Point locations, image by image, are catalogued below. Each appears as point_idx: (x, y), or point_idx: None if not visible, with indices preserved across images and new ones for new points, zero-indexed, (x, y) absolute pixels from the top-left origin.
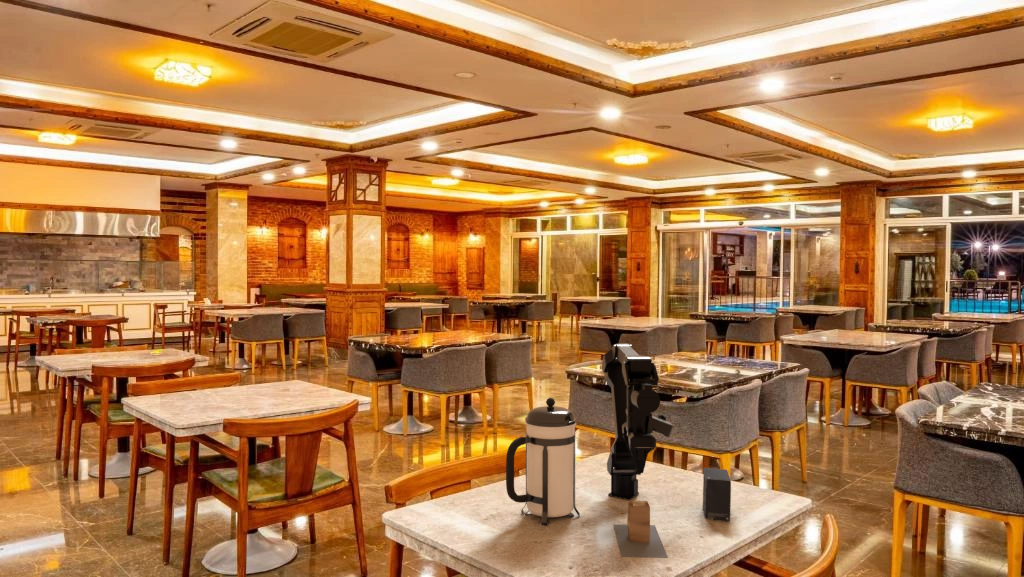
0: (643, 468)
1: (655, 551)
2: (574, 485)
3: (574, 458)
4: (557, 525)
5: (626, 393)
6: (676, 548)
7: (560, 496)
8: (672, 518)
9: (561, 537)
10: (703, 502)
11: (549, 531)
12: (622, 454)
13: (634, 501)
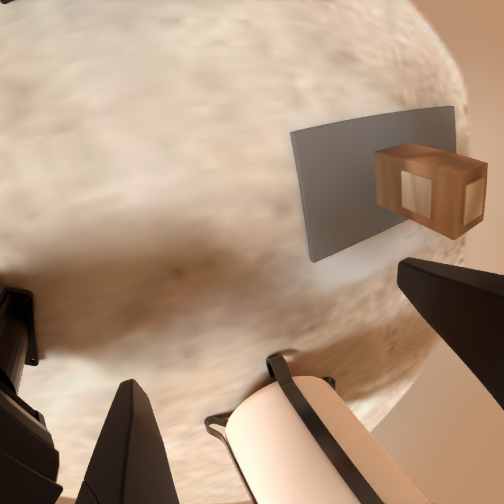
0: (438, 267)
1: (439, 130)
2: (321, 427)
3: (370, 491)
4: (322, 365)
5: None
6: (408, 78)
7: (350, 410)
8: (173, 75)
9: (378, 327)
10: None
11: (352, 358)
12: (31, 478)
13: (465, 217)
